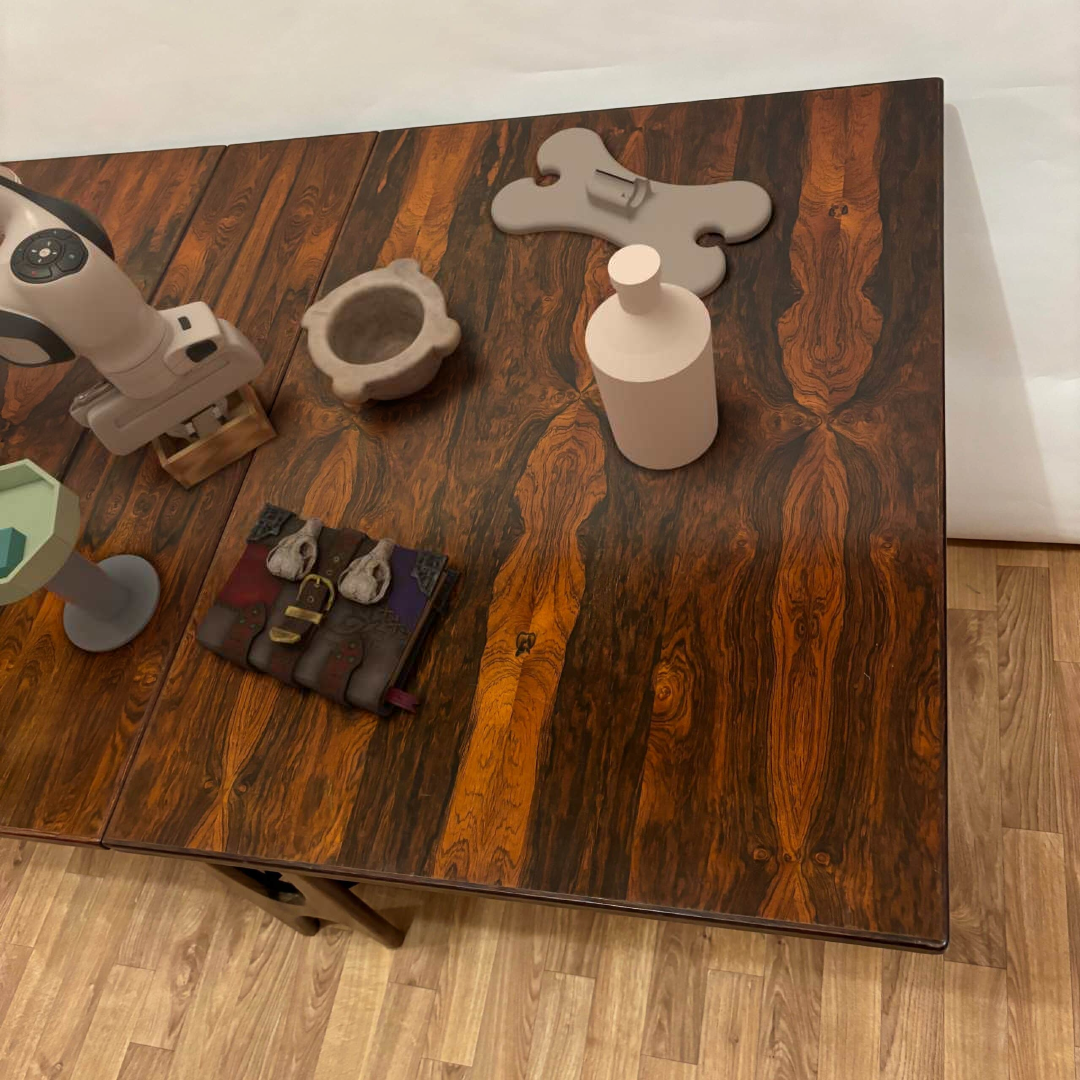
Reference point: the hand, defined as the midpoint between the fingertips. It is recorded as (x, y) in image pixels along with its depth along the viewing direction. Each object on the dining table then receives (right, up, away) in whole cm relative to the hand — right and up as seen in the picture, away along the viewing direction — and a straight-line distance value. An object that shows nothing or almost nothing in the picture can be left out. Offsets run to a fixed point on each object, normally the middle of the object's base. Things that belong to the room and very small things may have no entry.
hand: (211, 428), depth 113 cm
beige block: (0, -1, +1) cm, 1 cm away
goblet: (-9, -21, -6) cm, 24 cm away
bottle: (+54, -1, -11) cm, 55 cm away
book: (+18, -22, -13) cm, 31 cm away
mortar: (+23, +7, +1) cm, 24 cm away
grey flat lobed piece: (+51, +27, +5) cm, 58 cm away
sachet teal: (-13, -15, -21) cm, 29 cm away
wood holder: (+1, -1, +2) cm, 3 cm away
